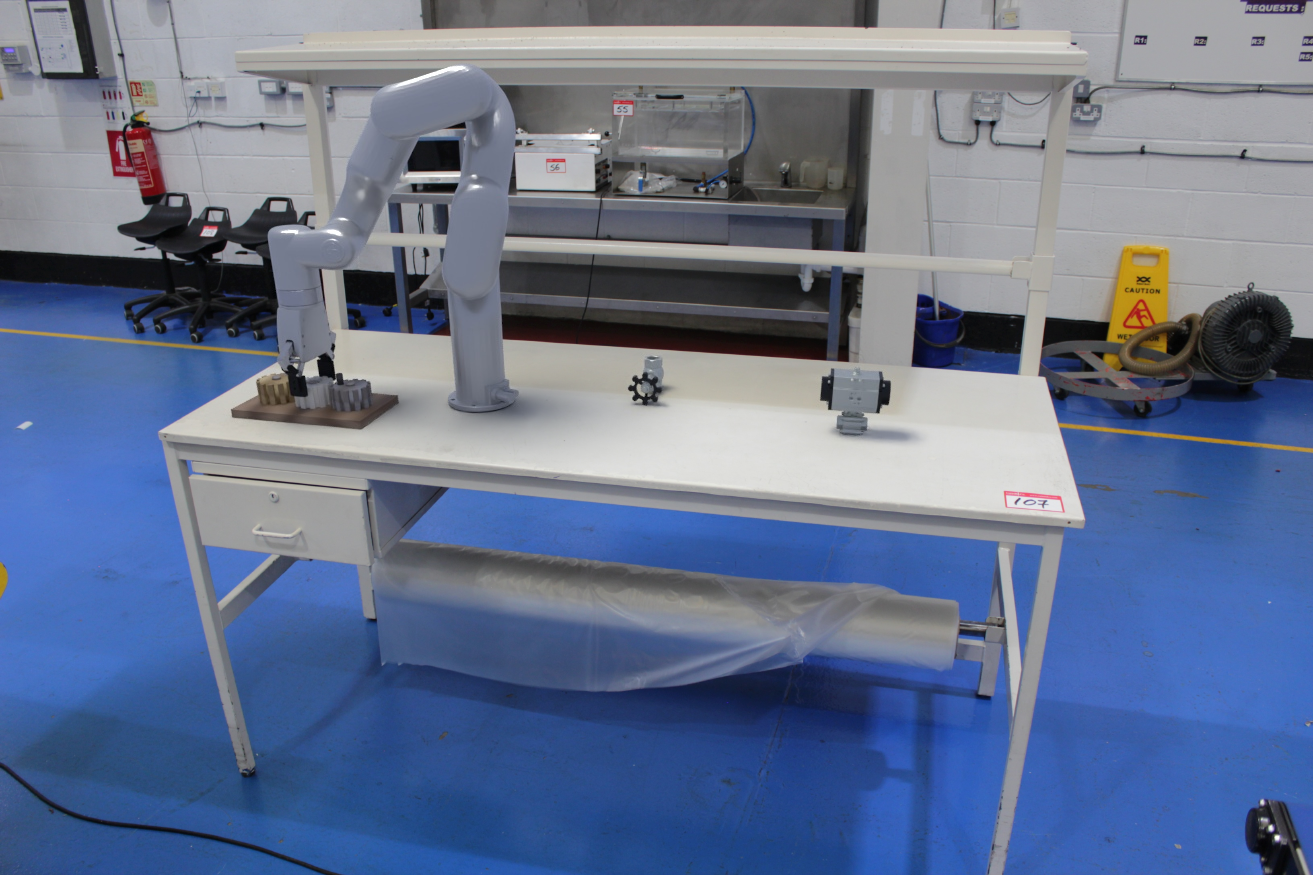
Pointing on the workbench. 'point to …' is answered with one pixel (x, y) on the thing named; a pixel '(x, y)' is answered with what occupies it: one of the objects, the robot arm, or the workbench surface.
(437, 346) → the workbench surface
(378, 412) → the gear board
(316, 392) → the gear
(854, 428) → the pneumatic valve
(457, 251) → the robot arm
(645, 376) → the valve
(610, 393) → the workbench surface
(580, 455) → the workbench surface
